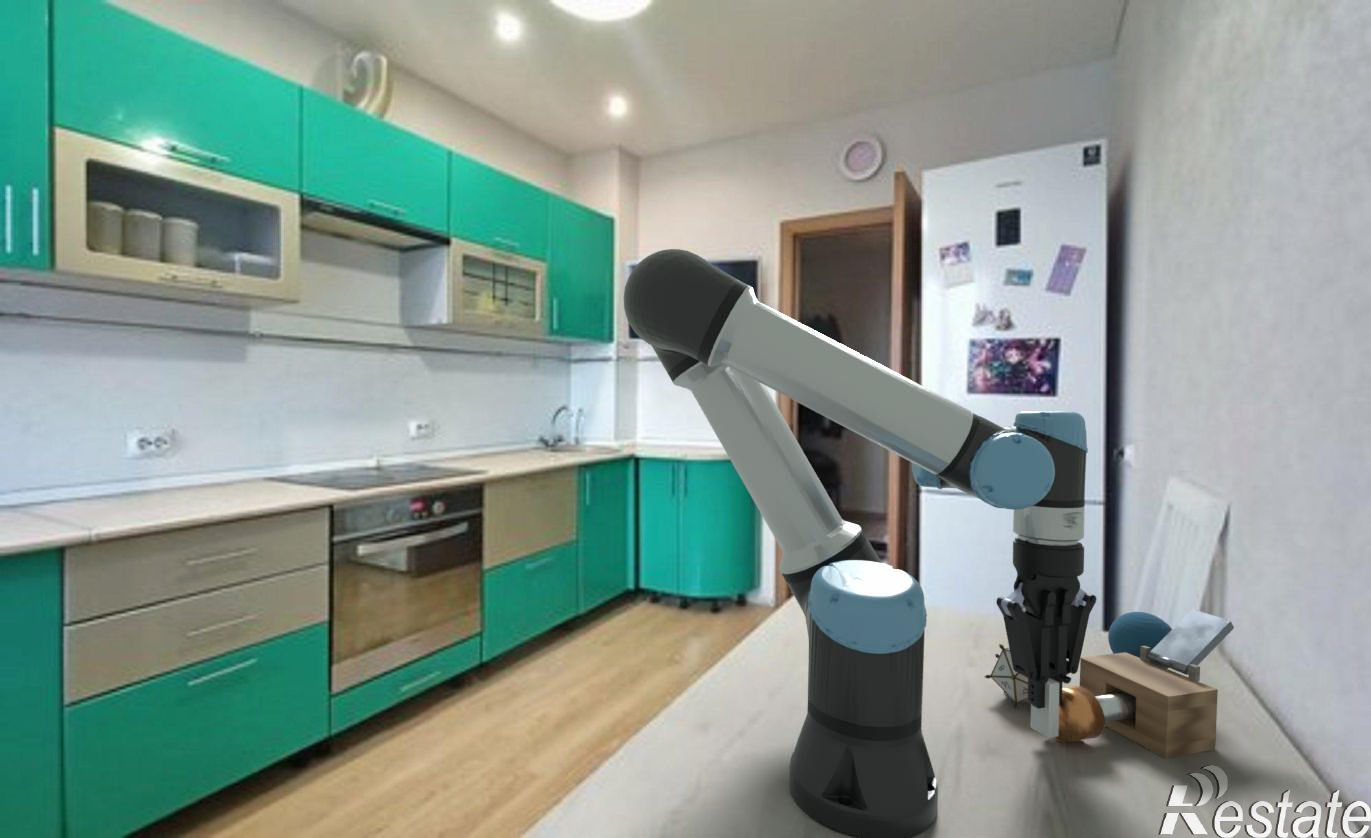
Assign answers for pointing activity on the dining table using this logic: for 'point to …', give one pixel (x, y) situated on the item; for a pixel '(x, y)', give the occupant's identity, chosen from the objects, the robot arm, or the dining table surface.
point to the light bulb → (1136, 633)
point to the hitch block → (1156, 702)
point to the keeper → (1190, 641)
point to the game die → (1009, 678)
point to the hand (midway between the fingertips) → (1044, 731)
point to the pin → (1090, 712)
